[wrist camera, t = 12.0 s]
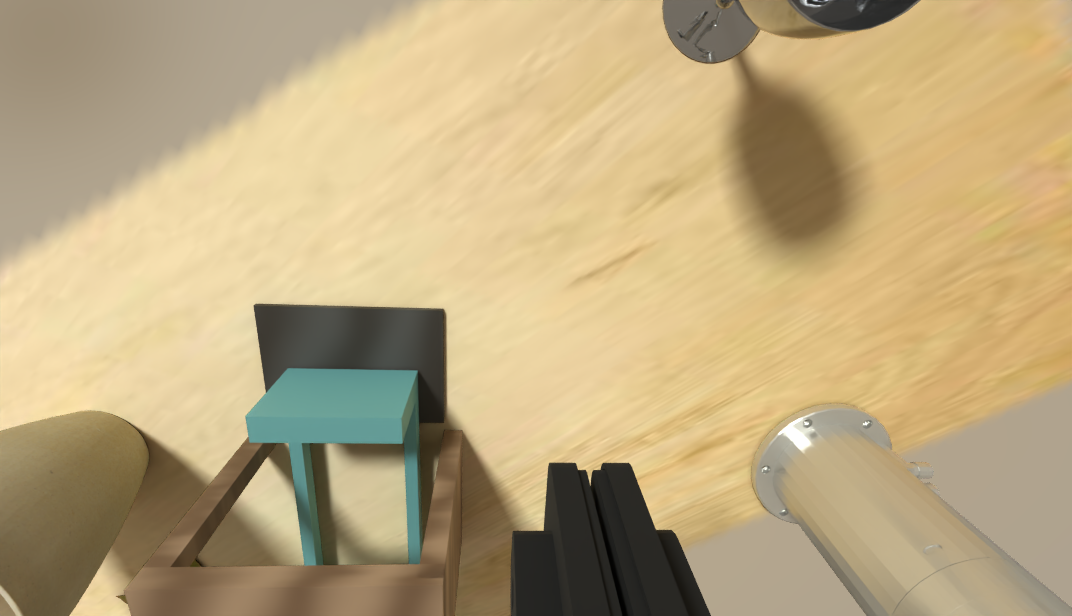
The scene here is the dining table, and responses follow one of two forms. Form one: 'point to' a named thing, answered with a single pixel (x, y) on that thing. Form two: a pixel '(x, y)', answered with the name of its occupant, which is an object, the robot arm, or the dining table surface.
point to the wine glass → (768, 22)
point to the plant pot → (63, 506)
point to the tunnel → (285, 342)
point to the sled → (341, 432)
